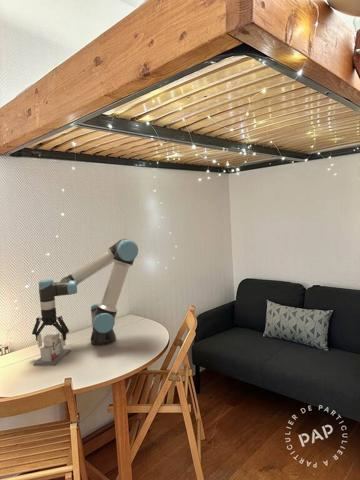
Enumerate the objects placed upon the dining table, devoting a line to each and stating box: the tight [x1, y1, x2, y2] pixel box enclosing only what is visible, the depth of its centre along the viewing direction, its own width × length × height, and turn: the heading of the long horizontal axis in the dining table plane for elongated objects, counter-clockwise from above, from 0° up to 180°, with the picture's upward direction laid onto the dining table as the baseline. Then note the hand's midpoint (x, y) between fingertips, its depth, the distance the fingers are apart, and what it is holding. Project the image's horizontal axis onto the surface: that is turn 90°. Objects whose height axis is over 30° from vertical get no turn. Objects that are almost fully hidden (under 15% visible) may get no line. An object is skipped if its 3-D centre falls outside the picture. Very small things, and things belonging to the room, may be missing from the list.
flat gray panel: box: [32, 337, 72, 366], centre depth 180 cm, size 12×18×9 cm, turn 173°
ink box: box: [43, 331, 61, 359], centre depth 180 cm, size 9×5×12 cm, turn 171°
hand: (51, 346), depth 180 cm, fingers open, 13 cm apart
